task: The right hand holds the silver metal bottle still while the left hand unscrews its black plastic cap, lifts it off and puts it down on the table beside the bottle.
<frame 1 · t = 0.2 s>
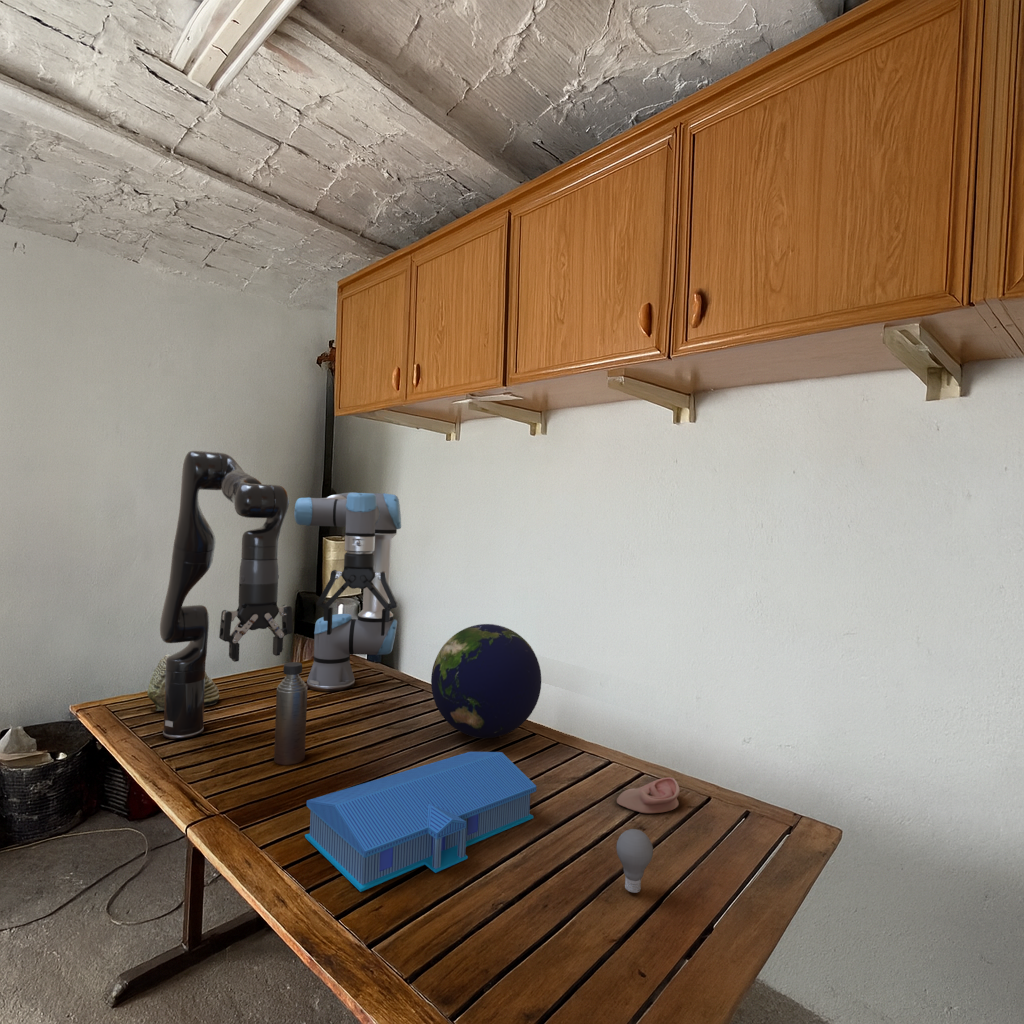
left hand: (256, 657, 132), 29 cm above the table, tool pointing down, fingers open, 8 cm apart
right hand: (356, 634, 164), 28 cm above the table, tool pointing down, fingers open, 13 cm apart
anatomical model: (647, 802, 138), on the table
cap: (293, 665, 152), point 23 cm above the table, screwed on, not yet turned
globe: (484, 735, 173), on the table
model building: (428, 831, 122), on the table
bottle: (289, 758, 152), on the table
fossil: (183, 706, 185), on the table
light bulb: (632, 891, 106), on the table
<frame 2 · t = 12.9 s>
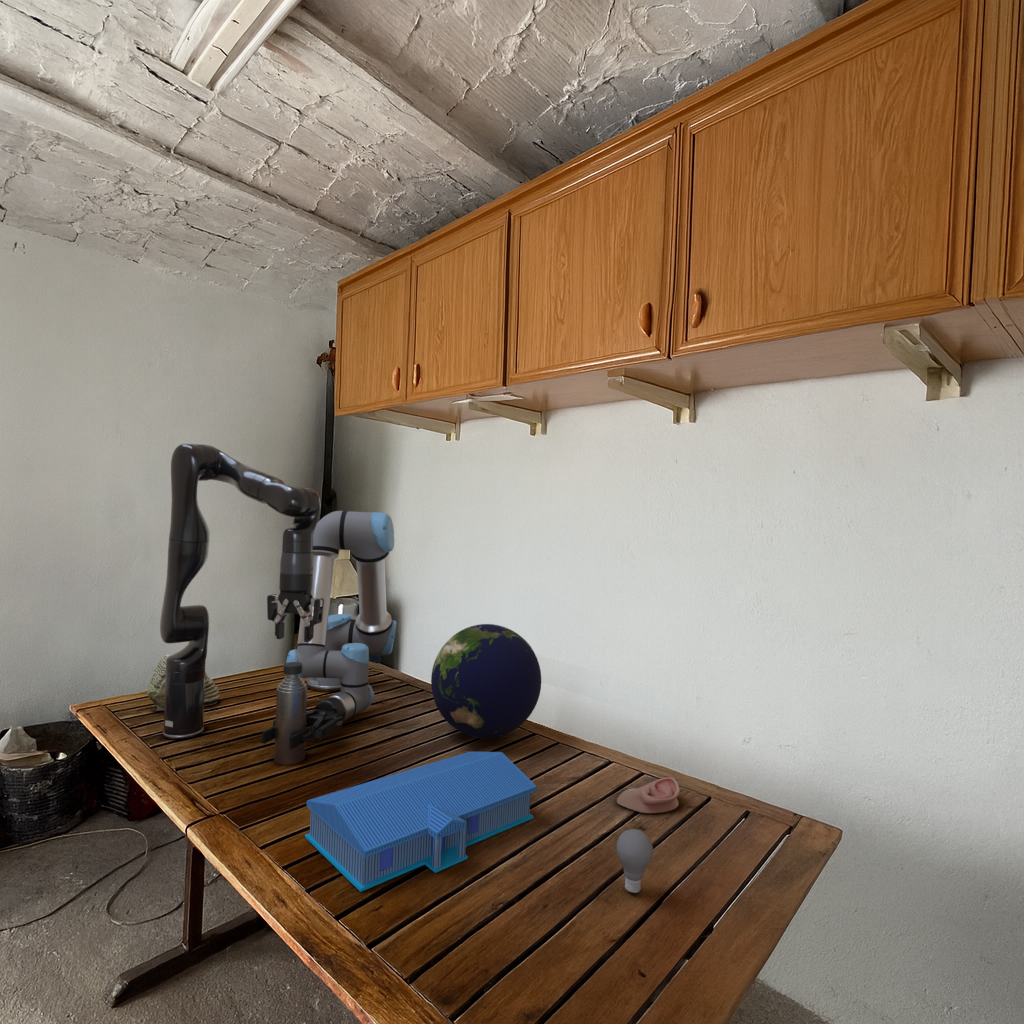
left hand: (294, 639, 151), 29 cm above the table, tool pointing down, fingers open, 6 cm apart
right hand: (276, 740, 147), 6 cm above the table, tool horizontal, fingers closed on bottle, 7 cm apart
bottle: (289, 758, 152), on the table, touching right hand
everything else where it was.
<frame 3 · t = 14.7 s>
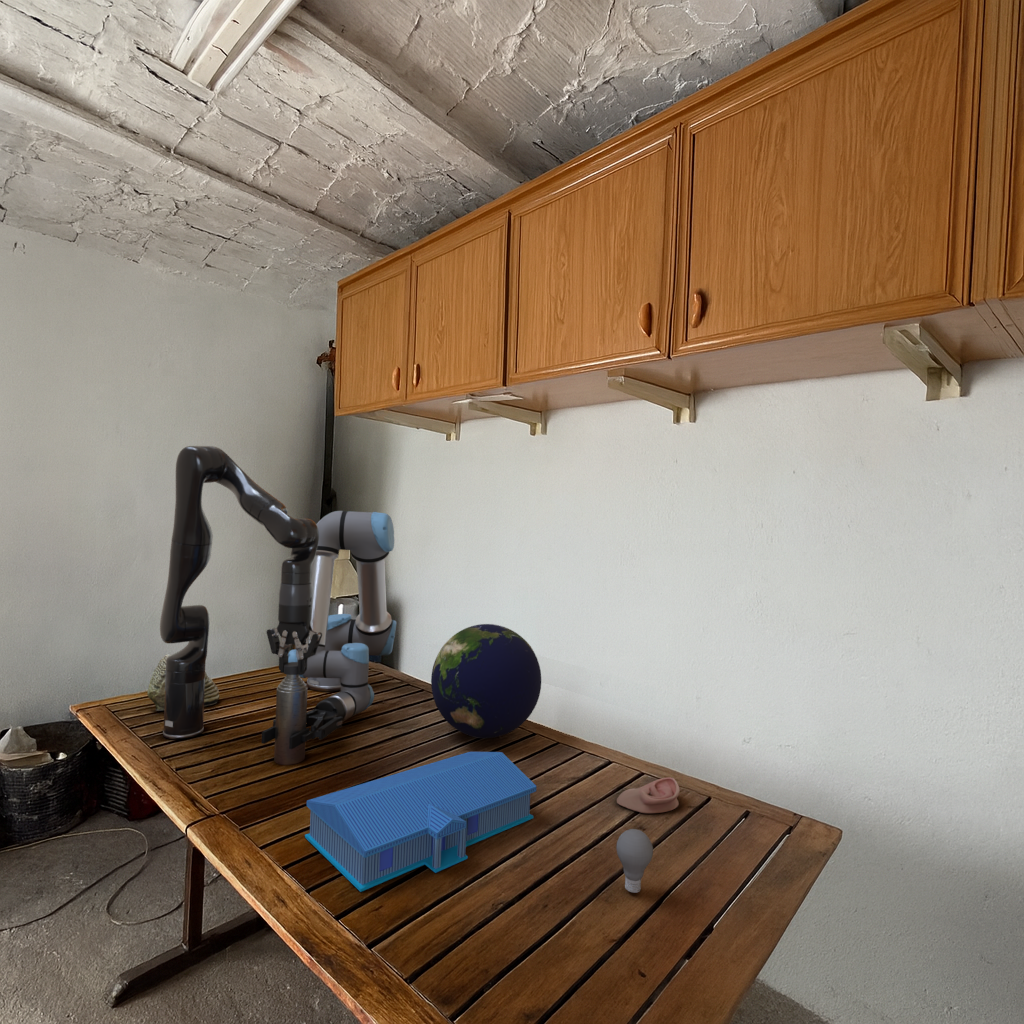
left hand: (292, 672, 152), 21 cm above the table, tool pointing down, fingers closed on cap, 4 cm apart
right hand: (276, 740, 147), 6 cm above the table, tool horizontal, fingers closed on bottle, 7 cm apart
cap: (293, 665, 152), point 23 cm above the table, screwed on, not yet turned, touching left hand
bottle: (289, 758, 152), on the table, touching right hand
everything else where it was.
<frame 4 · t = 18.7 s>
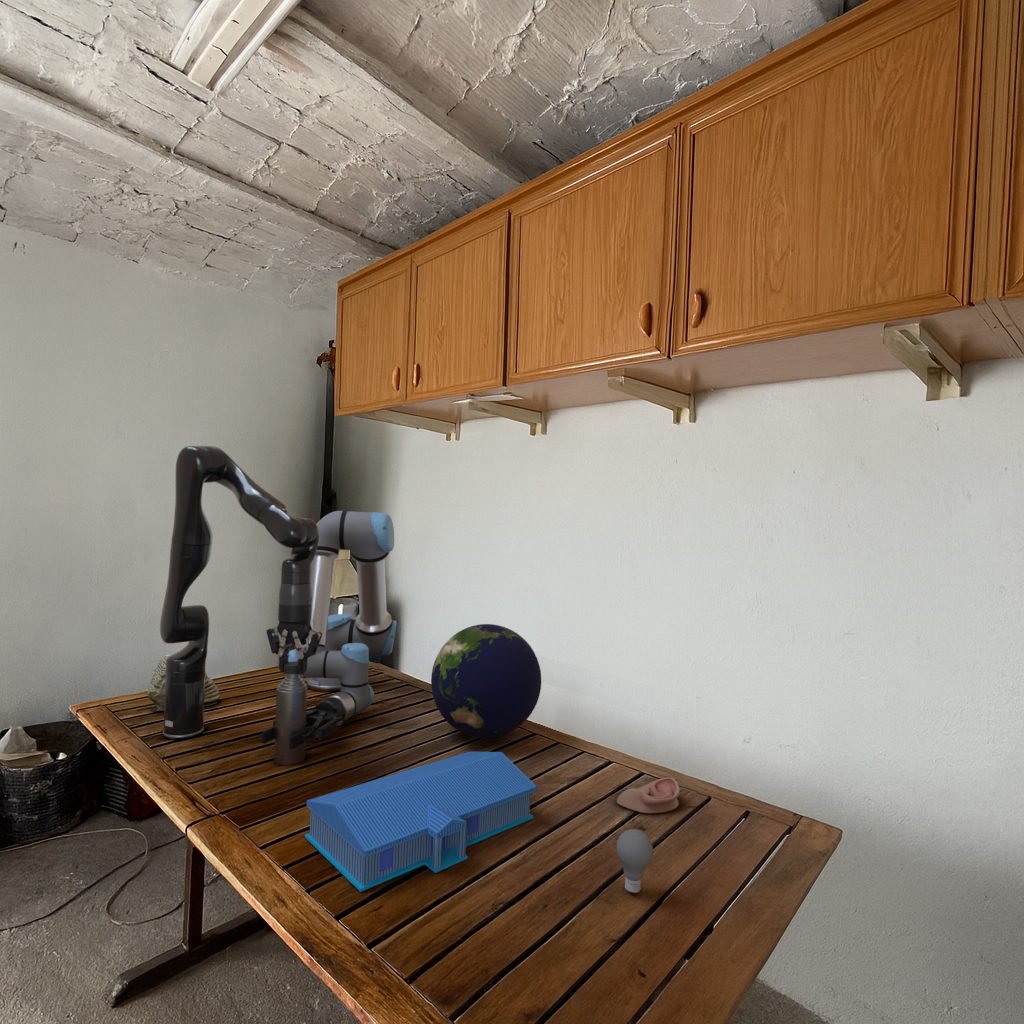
left hand: (292, 672, 152), 21 cm above the table, tool pointing down, fingers closed on cap, 4 cm apart
right hand: (276, 740, 147), 6 cm above the table, tool horizontal, fingers closed on bottle, 7 cm apart
cap: (293, 665, 152), point 23 cm above the table, turned 101° so far, risen 0.1 cm, still on its thread, touching left hand
bottle: (289, 758, 152), on the table, touching right hand
everything else where it was.
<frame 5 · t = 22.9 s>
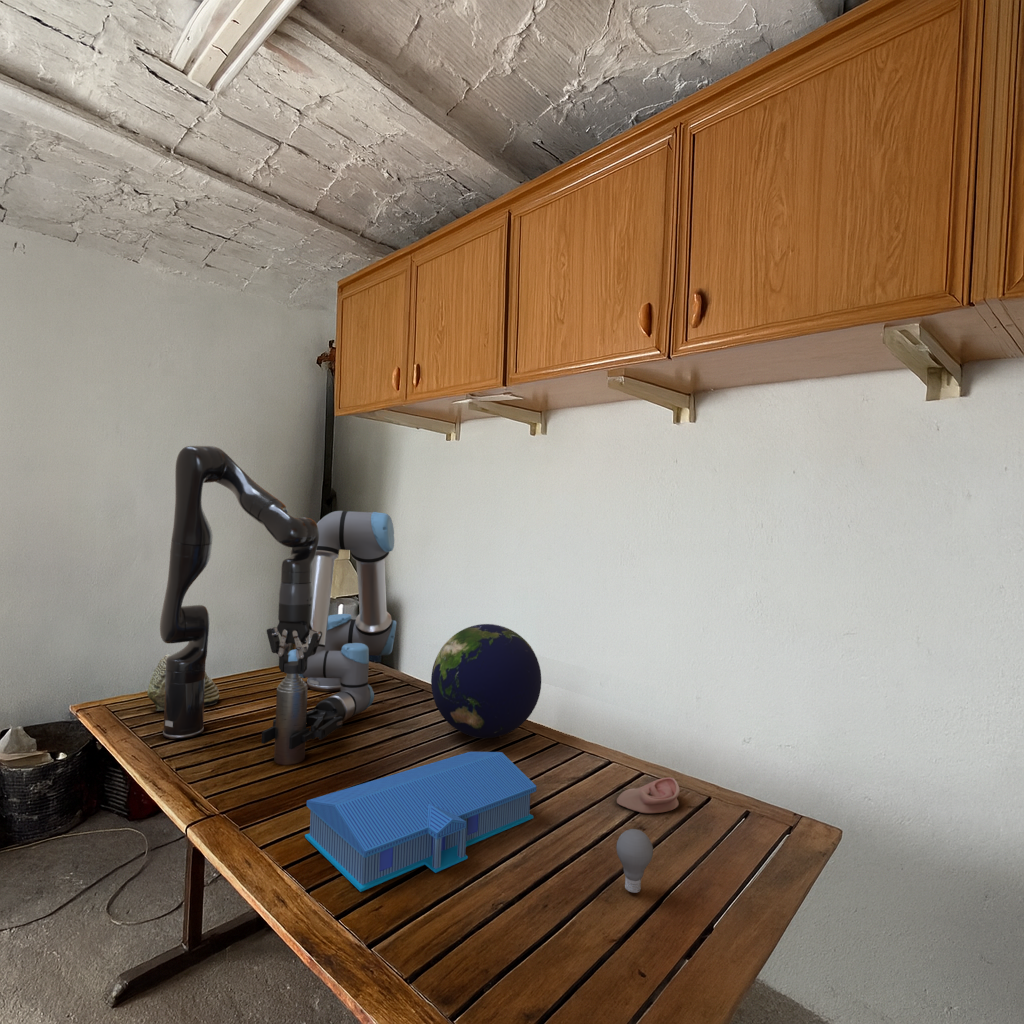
left hand: (292, 671, 152), 21 cm above the table, tool pointing down, fingers closed on cap, 4 cm apart
right hand: (276, 740, 147), 6 cm above the table, tool horizontal, fingers closed on bottle, 7 cm apart
cap: (293, 664, 152), point 23 cm above the table, turned 201° so far, risen 0.2 cm, still on its thread, touching left hand
bottle: (289, 758, 152), on the table, touching right hand
everything else where it was.
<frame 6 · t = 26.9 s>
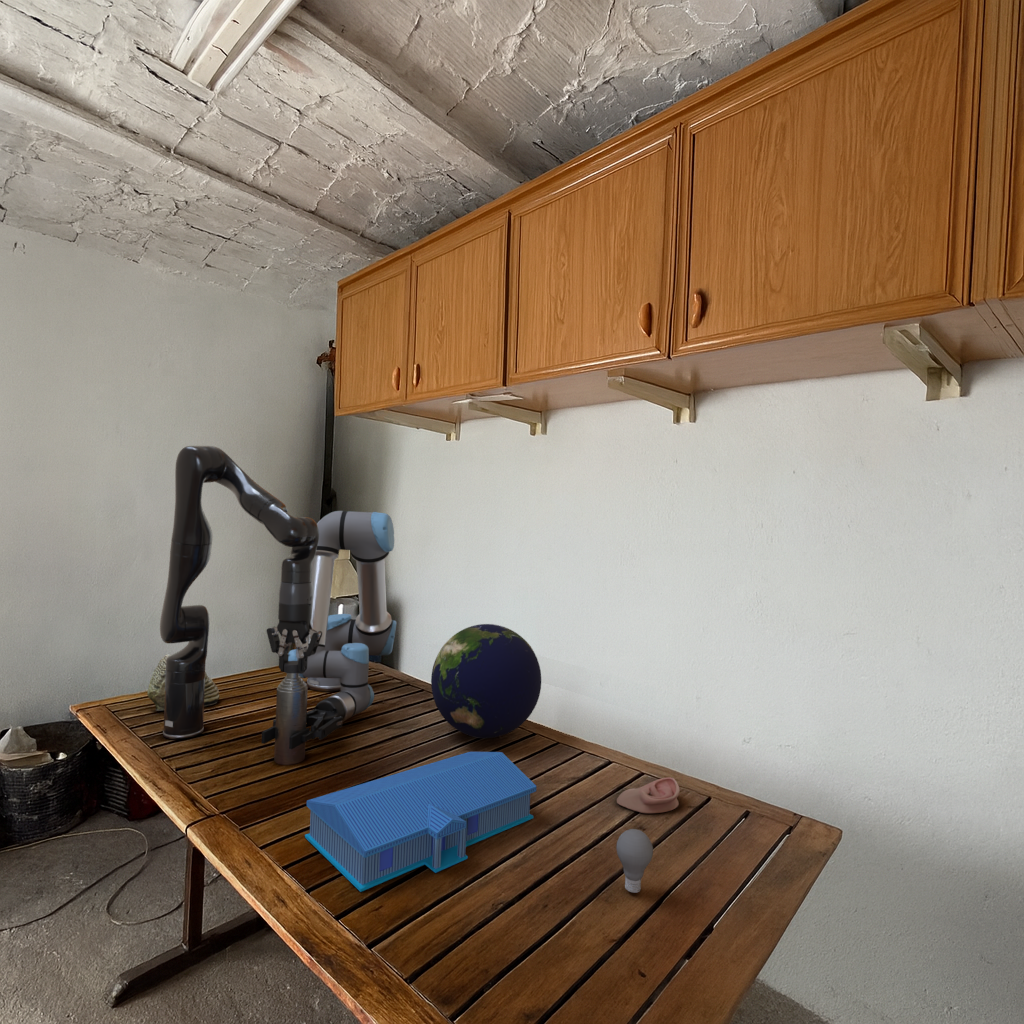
left hand: (292, 671, 152), 21 cm above the table, tool pointing down, fingers closed on cap, 4 cm apart
right hand: (276, 740, 147), 6 cm above the table, tool horizontal, fingers closed on bottle, 7 cm apart
cap: (293, 664, 152), point 23 cm above the table, turned 302° so far, risen 0.3 cm, still on its thread, touching left hand
bottle: (289, 758, 152), on the table, touching right hand
everything else where it was.
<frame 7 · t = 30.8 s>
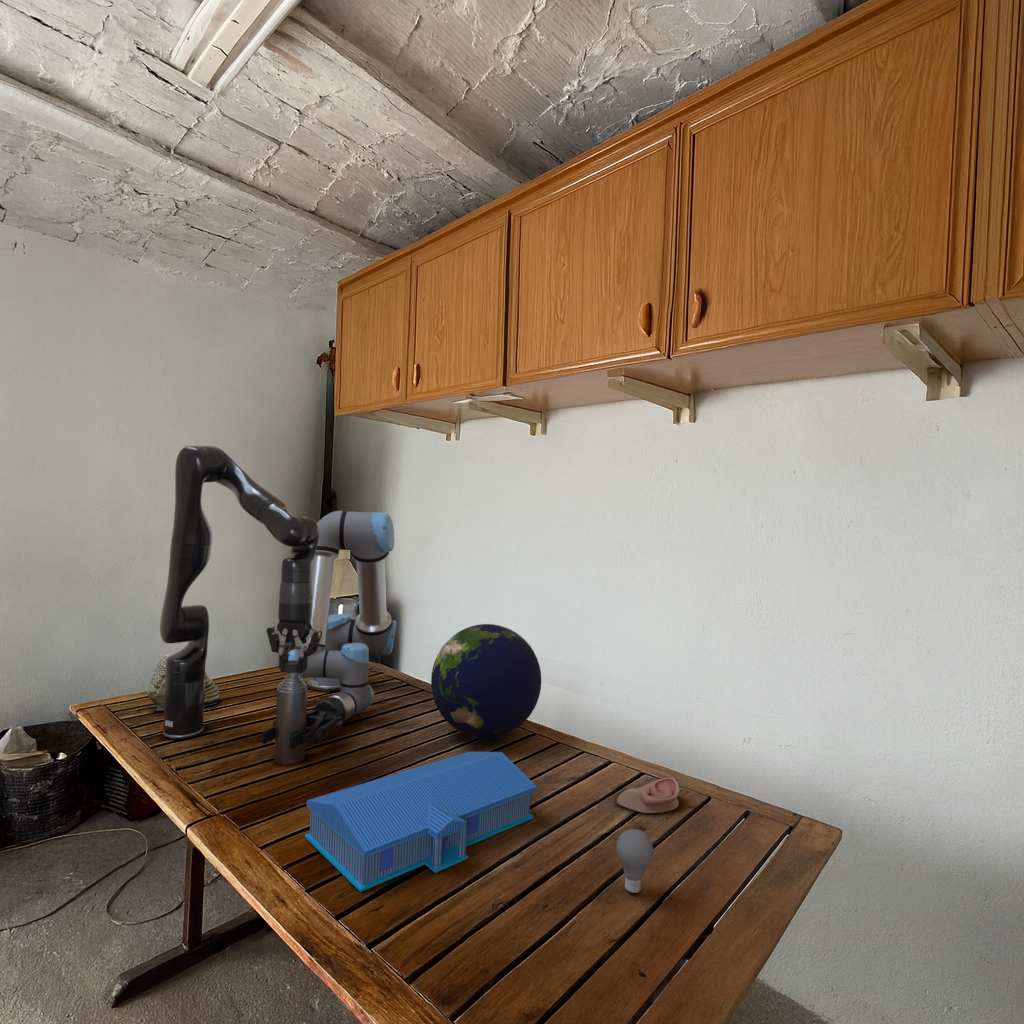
left hand: (293, 671, 152), 21 cm above the table, tool pointing down, fingers closed on cap, 4 cm apart
right hand: (276, 740, 147), 6 cm above the table, tool horizontal, fingers closed on bottle, 7 cm apart
cap: (293, 663, 152), point 23 cm above the table, turned 403° so far, risen 0.4 cm, still on its thread, touching left hand
bottle: (289, 758, 152), on the table, touching right hand
everything else where it was.
when the left hand's fingers open (1 cm above the table, at t = 37.8 s): cap drops 1 cm, point 2 cm above the table.
when the right hand's fingers open (6 cm above the table, at t = 38.9 s): bottle stays where it is, on the table.
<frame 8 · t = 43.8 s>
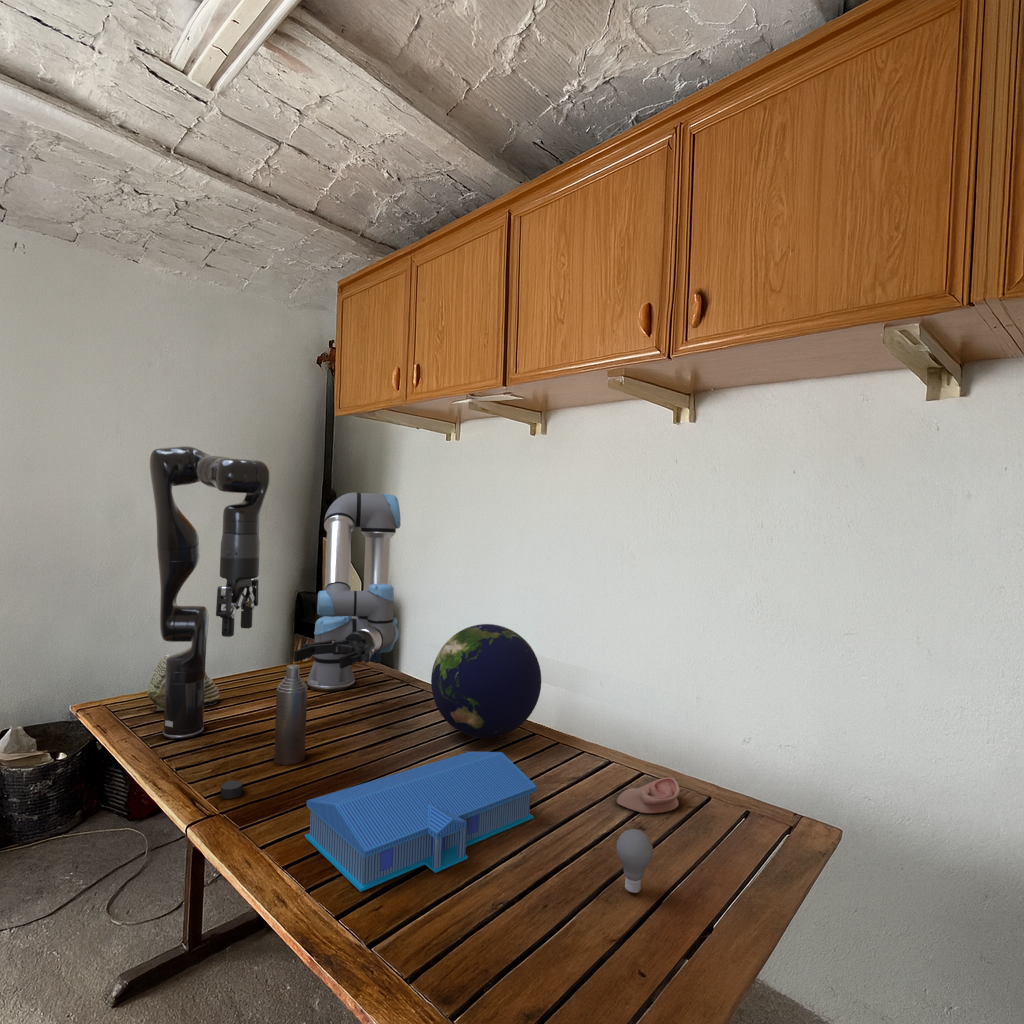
left hand: (237, 632, 133), 34 cm above the table, tool pointing down, fingers open, 8 cm apart
right hand: (317, 659, 161), 22 cm above the table, tool horizontal, fingers open, 13 cm apart
cap: (231, 786, 133), point 2 cm above the table, off its thread
bottle: (289, 759, 152), on the table
everything else where it was.
at the end: cap came off its thread; cap point 1.7 cm above the table; the left hand is holding nothing; the right hand is holding nothing; bottle tilted 0°; bottle moved 0.0 cm from its start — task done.
